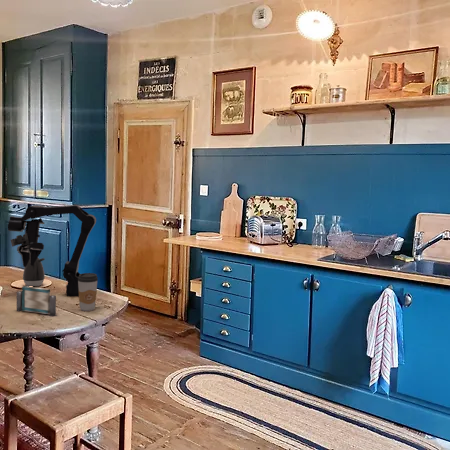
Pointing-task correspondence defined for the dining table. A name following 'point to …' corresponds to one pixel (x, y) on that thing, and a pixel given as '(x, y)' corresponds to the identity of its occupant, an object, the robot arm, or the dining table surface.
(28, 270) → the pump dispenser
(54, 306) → the gate posts
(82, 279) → the coffee cup
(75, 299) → the dining table surface
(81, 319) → the dining table surface
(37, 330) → the dining table surface
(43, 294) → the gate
